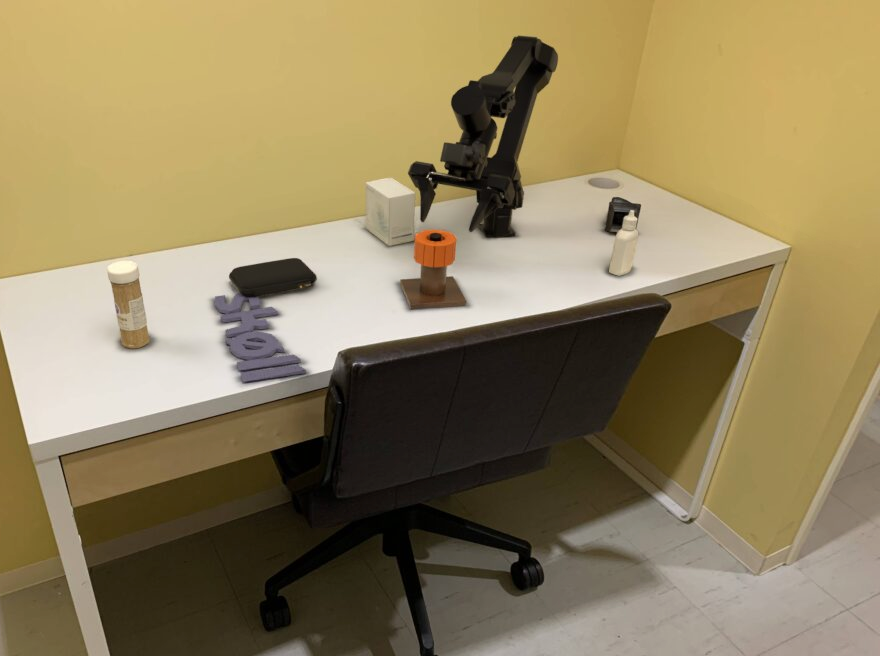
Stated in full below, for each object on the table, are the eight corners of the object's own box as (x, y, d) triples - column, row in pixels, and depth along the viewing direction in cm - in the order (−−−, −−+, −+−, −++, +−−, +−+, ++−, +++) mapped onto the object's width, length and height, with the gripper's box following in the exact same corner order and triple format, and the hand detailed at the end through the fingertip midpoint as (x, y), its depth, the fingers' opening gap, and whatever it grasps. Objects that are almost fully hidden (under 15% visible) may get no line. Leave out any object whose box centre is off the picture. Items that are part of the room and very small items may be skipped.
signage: (211, 296, 135) (266, 288, 138) (211, 299, 135) (267, 292, 138) (239, 380, 113) (305, 369, 115) (240, 384, 113) (305, 373, 116)
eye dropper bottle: (639, 273, 146) (652, 213, 139) (614, 277, 144) (626, 216, 138) (625, 264, 149) (638, 205, 143) (600, 268, 148) (612, 208, 141)
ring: (410, 251, 136) (411, 230, 134) (449, 249, 137) (450, 228, 135) (418, 268, 131) (419, 246, 128) (458, 266, 132) (460, 244, 129)
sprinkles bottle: (115, 343, 123) (100, 266, 115) (139, 332, 126) (125, 257, 118) (132, 352, 121) (118, 275, 113) (156, 341, 123) (143, 265, 116)
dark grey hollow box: (630, 215, 171) (636, 187, 167) (636, 238, 160) (643, 209, 156) (600, 213, 172) (605, 185, 168) (605, 236, 161) (610, 206, 157)
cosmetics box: (364, 229, 163) (364, 180, 157) (390, 224, 166) (391, 176, 160) (387, 246, 155) (388, 197, 150) (415, 241, 158) (417, 191, 152)
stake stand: (399, 284, 141) (401, 225, 135) (452, 280, 143) (456, 222, 136) (410, 309, 133) (413, 248, 127) (466, 305, 134) (471, 244, 128)
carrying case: (244, 305, 133) (322, 290, 139) (243, 289, 132) (322, 275, 137) (226, 281, 141) (301, 268, 147) (225, 266, 140) (300, 253, 145)
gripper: (414, 114, 133) (384, 195, 131) (517, 129, 126) (487, 215, 124) (430, 148, 143) (402, 224, 141) (526, 164, 136) (498, 243, 134)
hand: (445, 226), depth 135 cm, fingers open, 9 cm apart
